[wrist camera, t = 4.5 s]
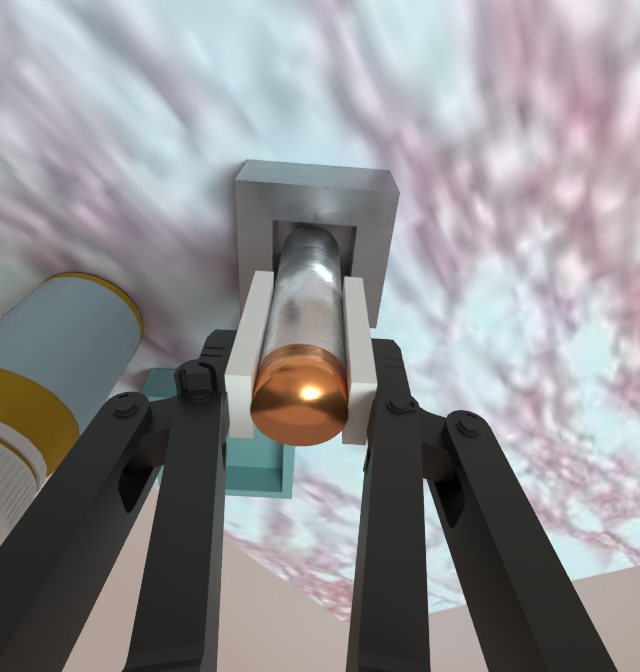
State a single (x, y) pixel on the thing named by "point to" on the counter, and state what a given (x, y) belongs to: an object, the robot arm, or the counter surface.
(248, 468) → the tray
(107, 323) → the bottle
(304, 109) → the counter surface
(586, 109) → the counter surface
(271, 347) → the pin
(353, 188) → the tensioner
